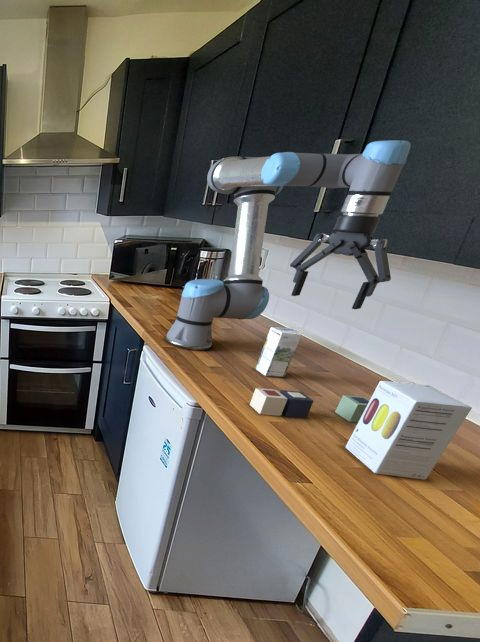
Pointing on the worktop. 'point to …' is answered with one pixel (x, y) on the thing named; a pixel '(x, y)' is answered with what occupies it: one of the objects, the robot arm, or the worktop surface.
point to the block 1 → (268, 401)
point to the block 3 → (352, 407)
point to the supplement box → (406, 429)
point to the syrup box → (278, 351)
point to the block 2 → (296, 404)
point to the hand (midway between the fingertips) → (324, 301)
